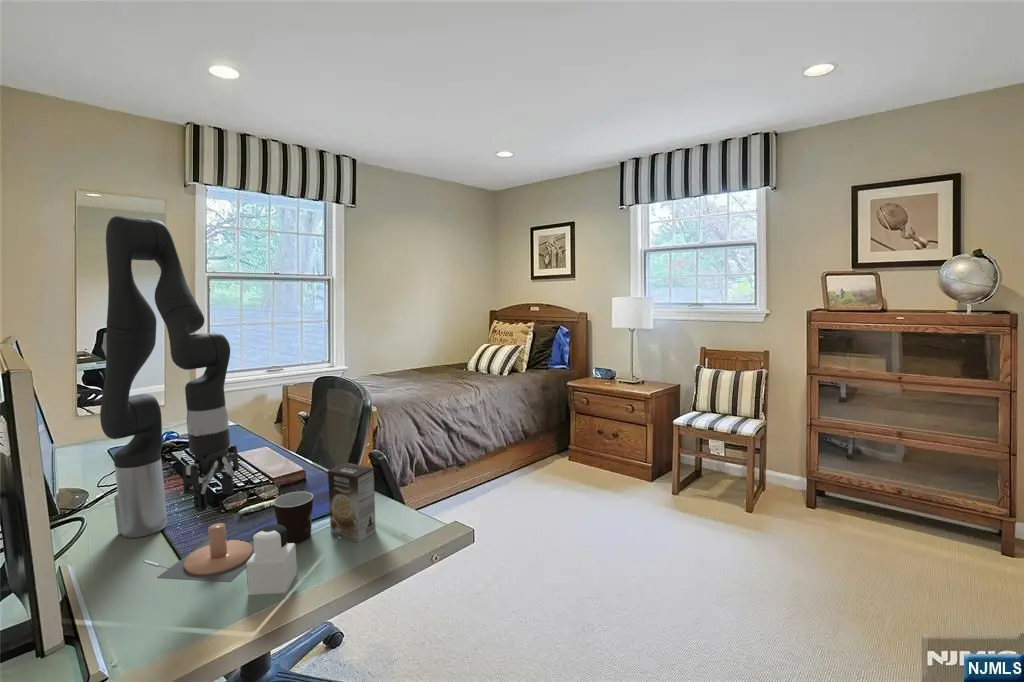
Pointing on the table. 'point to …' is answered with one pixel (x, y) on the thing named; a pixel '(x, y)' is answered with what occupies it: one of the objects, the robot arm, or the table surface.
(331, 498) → the coffee box
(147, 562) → the white screwdriver
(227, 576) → the mat
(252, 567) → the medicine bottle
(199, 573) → the terracotta lid
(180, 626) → the table surface
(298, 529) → the coffee mug
